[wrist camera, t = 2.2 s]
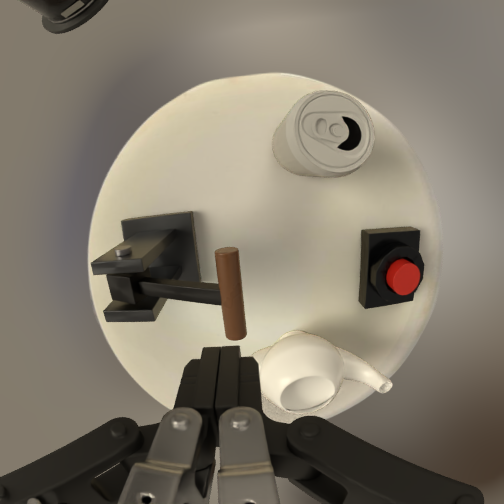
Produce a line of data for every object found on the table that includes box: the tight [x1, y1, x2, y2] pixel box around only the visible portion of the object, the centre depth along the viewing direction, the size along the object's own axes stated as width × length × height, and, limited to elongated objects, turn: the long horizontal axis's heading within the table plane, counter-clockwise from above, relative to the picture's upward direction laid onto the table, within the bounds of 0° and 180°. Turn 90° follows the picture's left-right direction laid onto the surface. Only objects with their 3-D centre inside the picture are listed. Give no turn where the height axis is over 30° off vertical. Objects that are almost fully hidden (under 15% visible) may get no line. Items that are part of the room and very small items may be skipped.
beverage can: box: [272, 91, 375, 177], centre depth 22 cm, size 6×6×12 cm
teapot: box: [249, 330, 392, 414], centre depth 30 cm, size 10×20×9 cm, turn 87°
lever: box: [106, 247, 247, 341], centre depth 20 cm, size 11×6×2 cm, turn 94°
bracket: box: [91, 211, 201, 322], centre depth 25 cm, size 8×8×12 cm
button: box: [386, 259, 420, 295], centre depth 28 cm, size 4×4×2 cm
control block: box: [359, 227, 424, 309], centre depth 30 cm, size 9×7×4 cm
